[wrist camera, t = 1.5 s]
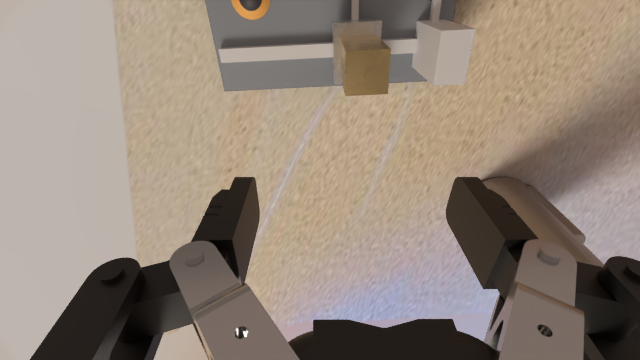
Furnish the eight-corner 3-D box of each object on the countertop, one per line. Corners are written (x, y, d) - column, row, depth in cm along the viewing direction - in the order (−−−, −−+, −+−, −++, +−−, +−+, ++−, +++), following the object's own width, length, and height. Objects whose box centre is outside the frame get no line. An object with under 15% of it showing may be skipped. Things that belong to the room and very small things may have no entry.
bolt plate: (455, -38, 27) (502, -43, 20) (437, 76, 32) (469, 102, 25) (205, -23, 27) (168, -24, 20) (228, 87, 32) (205, 114, 26)
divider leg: (378, -13, 26) (403, -10, 18) (374, 75, 30) (393, 107, 22) (331, -10, 26) (337, -6, 18) (332, 77, 30) (338, 109, 22)
